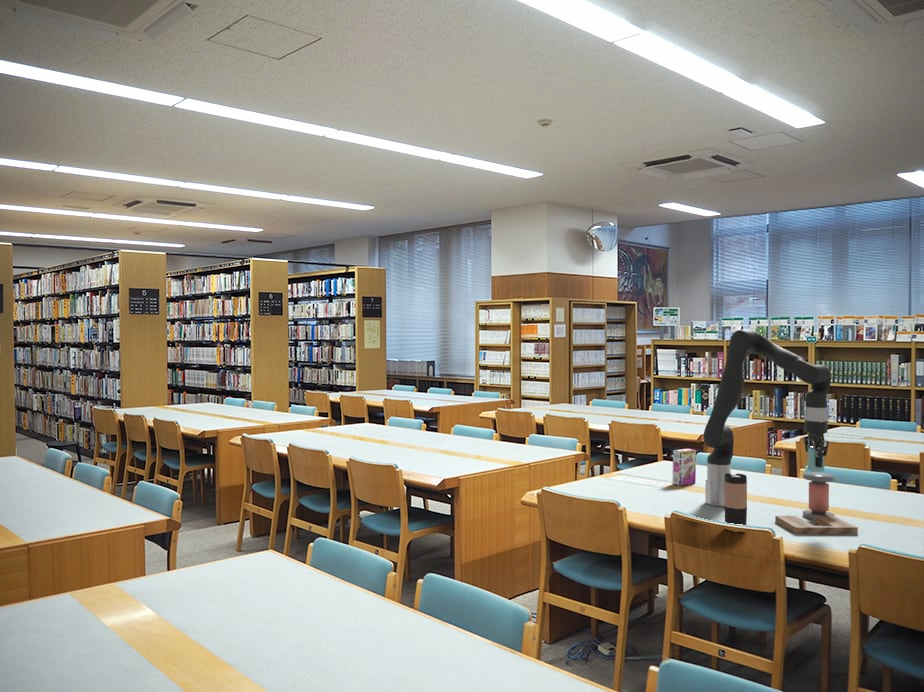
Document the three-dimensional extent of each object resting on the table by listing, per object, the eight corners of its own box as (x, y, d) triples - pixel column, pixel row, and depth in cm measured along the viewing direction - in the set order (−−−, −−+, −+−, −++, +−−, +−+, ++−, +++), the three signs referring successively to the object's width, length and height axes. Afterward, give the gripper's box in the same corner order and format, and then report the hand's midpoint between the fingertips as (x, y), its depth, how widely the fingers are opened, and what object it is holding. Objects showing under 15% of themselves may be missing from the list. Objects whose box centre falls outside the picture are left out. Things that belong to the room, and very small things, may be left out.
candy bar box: (680, 486, 321) (680, 451, 320) (672, 484, 325) (672, 450, 325) (696, 483, 327) (696, 449, 326) (688, 481, 331) (688, 448, 331)
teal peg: (813, 471, 249) (813, 449, 248) (807, 469, 253) (807, 447, 252) (824, 471, 249) (824, 449, 248) (818, 469, 253) (818, 447, 252)
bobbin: (811, 521, 260) (811, 478, 260) (797, 513, 271) (797, 472, 271) (840, 521, 260) (840, 478, 260) (825, 513, 271) (825, 472, 271)
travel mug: (739, 534, 243) (739, 478, 243) (720, 529, 250) (720, 474, 249) (751, 530, 248) (751, 475, 248) (732, 525, 254) (732, 472, 254)
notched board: (795, 534, 243) (795, 527, 243) (775, 522, 259) (775, 515, 259) (857, 534, 243) (857, 527, 243) (833, 522, 259) (833, 515, 259)
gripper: (796, 417, 257) (795, 462, 258) (815, 421, 243) (815, 469, 243) (816, 417, 257) (815, 462, 258) (836, 421, 243) (836, 469, 243)
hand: (815, 465), depth 250 cm, fingers closed on teal peg, 4 cm apart
